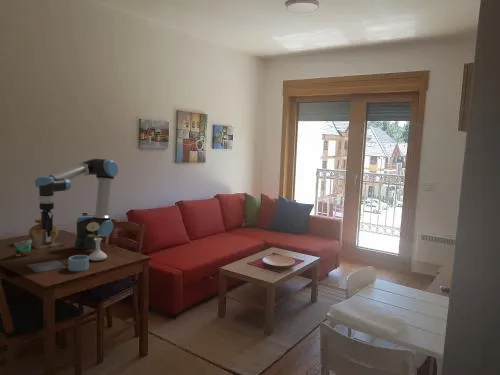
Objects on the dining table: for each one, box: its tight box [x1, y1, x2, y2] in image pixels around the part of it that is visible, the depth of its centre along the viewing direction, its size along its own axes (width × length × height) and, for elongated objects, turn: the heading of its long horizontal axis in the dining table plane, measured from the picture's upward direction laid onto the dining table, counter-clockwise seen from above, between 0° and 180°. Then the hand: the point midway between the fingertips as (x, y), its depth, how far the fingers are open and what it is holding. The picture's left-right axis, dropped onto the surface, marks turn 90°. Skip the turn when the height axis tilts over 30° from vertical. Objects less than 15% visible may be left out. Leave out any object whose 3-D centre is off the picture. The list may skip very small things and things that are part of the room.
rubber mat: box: [26, 259, 67, 273], centre depth 226 cm, size 17×17×1 cm
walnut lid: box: [31, 230, 65, 251], centre depth 225 cm, size 14×14×9 cm
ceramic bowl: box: [67, 254, 90, 272], centre depth 225 cm, size 11×11×7 cm
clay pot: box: [28, 217, 59, 242], centre depth 279 cm, size 19×19×20 cm
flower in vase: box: [86, 222, 108, 262], centre depth 244 cm, size 13×11×25 cm
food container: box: [13, 237, 33, 258], centre depth 245 cm, size 12×6×10 cm, turn 168°
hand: (47, 240), depth 225 cm, fingers closed on walnut lid, 4 cm apart
